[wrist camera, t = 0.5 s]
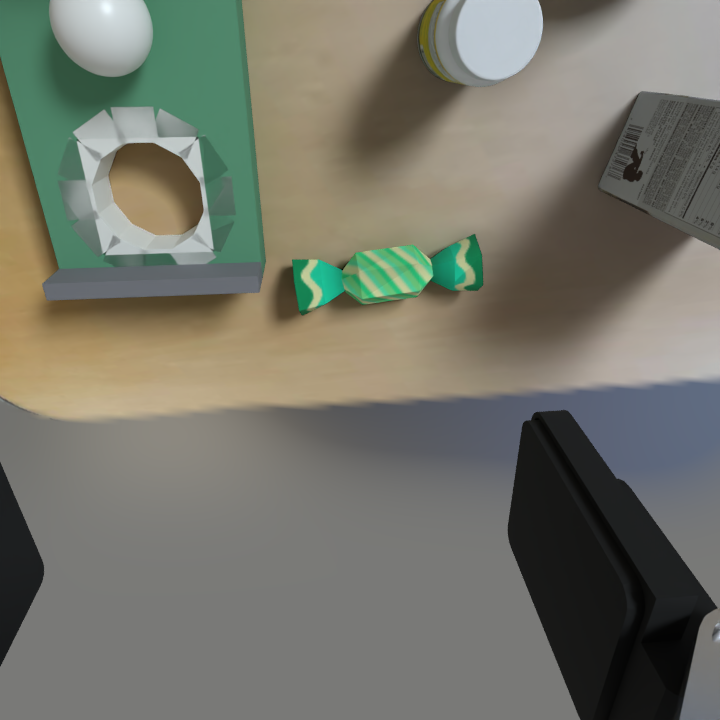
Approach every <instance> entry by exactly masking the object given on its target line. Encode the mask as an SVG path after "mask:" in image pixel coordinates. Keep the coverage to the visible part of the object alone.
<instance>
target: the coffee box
mask: <svg viewBox="0 0 720 720" xmlns="http://www.w3.org/2000/svg"><path fill="white" fill-rule="evenodd" d="M598 188H599V190H601V191H602V192H604V193H606V194H608V195H610V196H612V197H615V198H617V199H619V200H621V201H623V202H625V203H627V204H629V205H631V206H633V207H635V208H637V209H639V210H641V211H643V212H645V213H647V214H649V215H651V216H653V217H654V218H656V219H658V220H661V221H663V222H665V223H667V224H669V225H671V226H673V227H675V228H677V229H679V230H681V231H683V232H685V233H687V234H689V235H691V236H693V237H695V238H697V239H699V240H701V241H703V242H705V243H707V244H709V245H711V246H713V247H715V248H717V249H719V250H720V100H712V99H704V98H696V97H689V96H683V95H673V94H664V93H655V92H646V91H642V92H640V94H639V95H638V98H637V100H636V102H635V104H634V107H633V109H632V111H631V113H630V116H629V118H628V120H627V122H626V124H625V127H624V129H623V131H622V133H621V136H620V138H619V140H618V142H617V145H616V147H615V149H614V151H613V153H612V156H611V158H610V160H609V163H608V165H607V167H606V169H605V171H604V174H603V176H602V178H601V180H600V183H599V185H598Z"/></svg>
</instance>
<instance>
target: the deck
mask: <svg viewBox="0 0 720 720" xmlns="http://www.w3.org/2000/svg"><path fill="white" fill-rule="evenodd" d="M143 1H144V2H145V4H146V6H147V9H148V11H149V14H150V17H151V21H152V26H153V41H152V46H151V50H150V52H149V54H148V56H147V58H146V60H145V61H144V63H143V64H142V65H141V66H140V67H139V68H138V69H136V70H135V71H133V72H131V73H129V74H127V75H124V76H119V77H105V76H100V75H96V74H93V73H91V72H89V71H87V70H85V69H83V68H82V67H80V66H79V65H77V64H76V63H75V62H74V61H72V60H71V59H70V58H69V57H68V56H67V54H66V53H65V52H64V51H63V49H62V48H61V46H60V45H59V43H58V41H57V40H56V38H55V35H54V33H53V31H52V27H51V24H50V18H49V3H50V0H0V57H1V61H2V64H3V68H4V72H5V75H6V79H7V82H8V86H9V90H10V93H11V97H12V100H13V104H14V108H15V111H16V115H17V118H18V122H19V126H20V129H21V133H22V136H23V140H24V144H25V147H26V151H27V154H28V158H29V162H30V165H31V169H32V172H33V176H34V180H35V183H36V187H37V190H38V194H39V198H40V201H41V205H42V208H43V212H44V216H45V219H46V223H47V226H48V230H49V234H50V237H51V241H52V244H53V248H54V252H55V255H56V259H57V262H58V266H59V270H57V271H56V272H55V273H54V274H53V275H52V276H51V277H49V278H48V279H47V280H46V281H45V282H44V283H43V284H42V285H43V289H44V292H45V296H46V299H47V300H73V299H99V298H126V297H152V296H179V295H205V294H232V293H258V292H260V288H261V283H262V278H263V273H264V268H265V263H266V259H265V248H264V237H263V226H262V216H261V205H260V194H259V183H258V172H257V162H256V151H255V140H254V129H253V119H252V108H251V97H250V86H249V75H248V65H247V54H246V43H245V32H244V22H243V11H242V0H143ZM127 143H155V144H157V145H159V146H161V147H163V148H165V149H167V150H169V151H171V152H172V153H174V154H176V155H178V156H180V157H182V158H183V160H184V161H185V163H186V164H187V165H188V167H189V168H190V170H191V171H192V172H193V174H194V175H195V176H196V178H197V179H198V181H199V182H200V186H201V193H202V200H203V207H204V212H203V215H202V217H201V219H200V222H199V224H198V225H196V226H195V227H193V228H191V229H190V230H188V231H187V232H185V233H184V234H182V235H154V234H152V233H150V232H148V231H146V230H144V229H142V228H140V227H138V226H136V225H133V224H132V223H131V222H130V221H129V220H128V218H127V217H126V216H125V215H124V214H123V212H122V211H121V210H120V209H119V207H118V206H117V205H116V204H115V202H114V199H113V195H112V190H111V186H110V181H109V176H108V175H109V172H110V169H111V166H112V163H113V160H114V158H115V155H116V152H117V150H119V149H120V148H122V147H123V146H124V145H126V144H127Z"/></svg>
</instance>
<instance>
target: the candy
mask: <svg viewBox="0 0 720 720" xmlns="http://www.w3.org/2000/svg"><path fill="white" fill-rule="evenodd" d="M292 263H293V275H294V284H295V290H296V296H297V301H298V307H299V312H300V313H301V315H304V314H307V313H309V312H311V311H313V310H315V309H317V308H319V307H321V306H323V305H325V304H327V303H328V302H330V301H331V300H333V299H334V298H335V297H337V296H338V295H340V294H341V293H343V292H346V293H347V294H348V295H350V296H351V297H352V298H354V299H355V300H356V301H358V302H359V303H360V304H362V305H364V304H371V303H378V302H385V301H392V300H399V299H406V298H413V297H417V296H418V295H419V294H420V292H421V291H422V290H423V289H424V287H425V286H426V285H427V284H428V283H429V281H432V282H435V283H437V284H439V285H441V286H443V287H445V288H447V289H450V290H452V291H478V290H479V289H480V288H481V287H482V286H483V267H482V254H481V251H480V248H479V245H478V242H477V239H476V236H475V234H473V235H471V236H469V237H467V238H465V239H463V240H461V241H459V242H457V243H455V244H453V245H451V246H449V247H447V248H445V249H444V250H442V251H441V252H440V253H438V254H437V255H435V256H434V257H432V258H431V259H429V258H428V257H427V256H426V255H424V254H423V253H422V252H421V251H420V250H418V249H417V248H416V247H415V246H414V245H407V246H400V247H393V248H386V249H379V250H372V251H365V252H358V253H355V254H354V256H353V257H352V258H351V260H350V261H349V262H348V264H347V265H346V266H345V268H344V269H343V270H341V269H339V268H336V267H334V266H332V265H330V264H328V263H325V262H323V261H321V260H292Z"/></svg>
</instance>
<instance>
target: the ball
mask: <svg viewBox="0 0 720 720" xmlns="http://www.w3.org/2000/svg"><path fill="white" fill-rule="evenodd" d="M49 18H50V24H51V27H52V31H53V33H54V35H55V38H56V40H57V41H58V43H59V45H60V46H61V48H62V49H63V51H64V52H65V53H66V54H67V56H68V57H69V58H70V59H71V60H72V61H74V62H75V63H76V64H77V65H79V66H80V67H82V68H83V69H85V70H87V71H89V72H91V73H93V74H96V75H100V76H105V77H119V76H124V75H127V74H129V73H131V72H133V71H135V70H136V69H138V68H139V67H140V66H141V65H142V64H143V63H144V61H145V60H146V58H147V56H148V54H149V52H150V50H151V46H152V41H153V26H152V21H151V17H150V14H149V11H148V9H147V6H146V4H145V2H144V1H143V0H50V3H49Z"/></svg>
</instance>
